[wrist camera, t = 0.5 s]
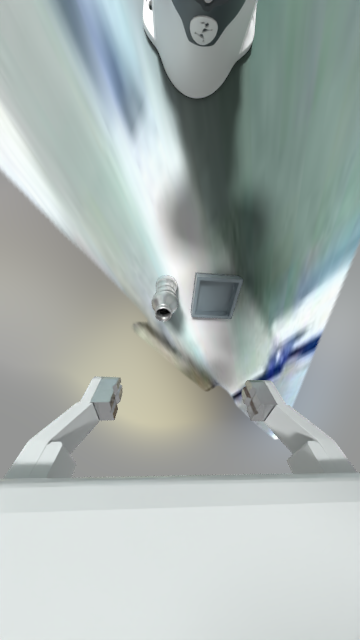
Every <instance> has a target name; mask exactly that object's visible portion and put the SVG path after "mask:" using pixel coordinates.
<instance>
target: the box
mask: <svg viewBox="0 0 360 640" xmlns="http://www.w3.org/2000/svg"><path fill="white" fill-rule="evenodd" d="M242 283H243V279H242V278H241V277H239V276H234V275H220V274H206V273H196V275H195V282H194V290H193V297H192V305H191V316H192V317H203V318H222V319H231V318H232V315H233V312H234V309H235V305H236V302H237V299H238V296H239V292H240V289H241V286H242Z"/></svg>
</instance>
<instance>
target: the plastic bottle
mask: <svg viewBox="0 0 360 640" xmlns="http://www.w3.org/2000/svg"><path fill="white" fill-rule="evenodd" d="M176 290H177V282H176V281H175V279H174V278H173V277H171V276H169V275H164V276H161V277H160V278H159V279H158V280H157V282H156V293H155V295H154V296H153V299H152V307H153V309H154V311H155V317H156V318H157V319H158V320H159V321H168V320H169V319H170V318H171V316H172V314H173V313H174V312H175V311H176V309H177V307H178V300H177V297H176V294H175V292H176Z"/></svg>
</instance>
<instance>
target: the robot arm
mask: <svg viewBox="0 0 360 640" xmlns="http://www.w3.org/2000/svg"><path fill="white" fill-rule="evenodd" d="M257 2H258V0H144V4H143V26H144V29H145V32H146V34H147V36H148V37H149V39H150V40H151V41H152V43H153V44H154V45H155V47H156V48H157V50H158V52H159V54H160V57H161V60H162V63H163V66H164V68H165V71H166V73H167V75H168V77H169V78H170V80H171V82H172V83H173V85H174V86H175V87H176V88H177V89H178V90H179V91H180V92H181V93H183V94H184V95H186V96H188V97H191V98H203V97H206V96H209V95H210V94H212V93H213V92H215V91H216V90H217V89H218V88H219V87H220V86H221V85H222V83H223V82H224V81H225V79H226V78H227V76H228V74H229V72H230V71H231V69H232V67H233V65H234V64H235V63H236V61H238V60H239V59H240V58H241V57H242V56H243V55H245V54H246V53H247V51H248V50H249V49H250V47H251V44H252V41H253V38H254V32H255V19H256V6H257ZM151 5H152V10H150V9H149V7H150V6H151ZM120 383H121V379H120V378H116V377H94V378H93V379H92V380H91V382H90V384H89V386H88V388H87V390H86V392H85V393H84V395H83V397H82V399H81V401H80V402H78V403H76V404H74V405H73V406H72V407H71V408H69V409H68V410H67V411H66V412H64V413H63V414H62V415H61V416H59V417H58V418H57V419H56V420H54V421H53V422H52V423H50V424H49V425H48V426H47V427H45V428H44V429H43V430H42V431H40V432H39V433H38V434H37V435H36V436H34V437H33V438H32V439H30V440H29V441H28V443H27V444H26V445H25V447H24V448H23V450H22V451H21V453H20V454H19V456H18V458H17V459H16V460H15V462H14V463H13V465H12V466H11V468H10V469H9V471H8V472H7V474H6V475H5V477H4V478H3V479H0V640H360V472H357V471H356V470H355V468H354V467H353V465H352V464H351V463H350V462H349V460H348V459H347V457H346V456H345V455H344V453H343V452H342V451H341V449H340V448H339V446H338V445H337V444H336V442H335V441H334V440H333V439H332V438H330V437H329V436H328V435H327V434H325V433H324V432H323V431H321V430H320V429H319V428H318V427H316V426H315V425H314V424H312V423H311V422H310V421H308V420H307V419H306V418H305V417H303V416H302V415H301V414H300V413H298V412H297V411H296V410H295V409H293V408H292V407H291V406H289V405H286V403H285V402H284V400H283V398H282V397H281V395H280V394H279V392H278V391H277V389H276V387H275V386H274V384H273V383H272V382H271V381H262V380H248V381H246V383H245V385H246V386H245V387H244V388H243V390H242V399H243V402H244V404H246V405H247V406H248V407H247V412H248V415H249V417H250V420H251V421H265V422H264V423H265V424H266V425H267V426H268V427H269V428H270V429H271V430H272V431H273V433H274V434H275V435H276V436H277V437H278V438H279V439H280V440H281V441H282V442H283V444H284V445H285V446H286V447H287V448H288V449H289V450H290V451H291V452H292V454H293V455H292V456H291V457H290V458H288V460H287V462H288V465H289V467H290V469H291V471H292V473H293V474H247V475H246V474H244V475H189V476H135V477H81V478H80V477H78V478H71V477H72V474H73V471H74V469H75V466H76V462H75V460H74V459H73V458H72V456H71V455H70V454H71V453H72V452H73V451H74V450H75V448H76V447H77V446H78V445H79V444H80V443H81V442H82V441H83V439H84V438H85V437H86V436H87V435H88V434H89V433H90V432H91V430H92V429H93V428H94V427H95V426H96V425H97V424H98V422H99V420H115V416H116V413H117V410H118V407H117V404H118V403H119V402H120V400H121V396H122V385H120Z"/></svg>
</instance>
